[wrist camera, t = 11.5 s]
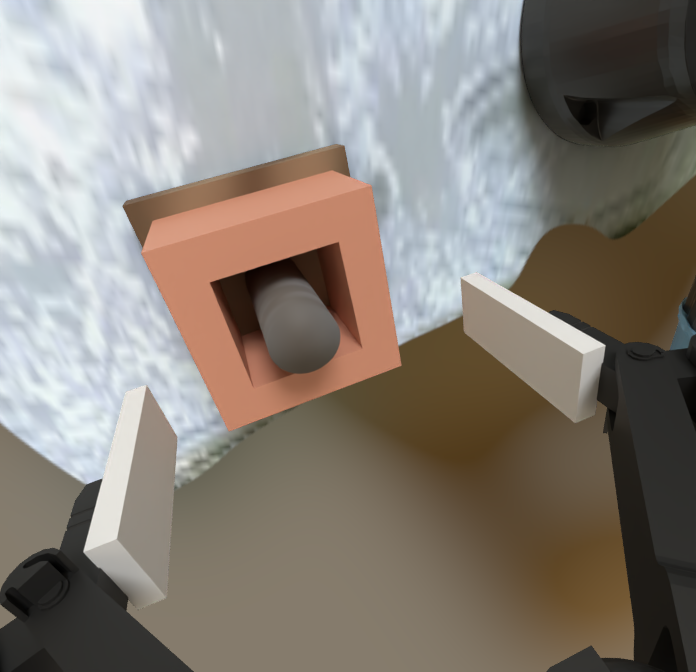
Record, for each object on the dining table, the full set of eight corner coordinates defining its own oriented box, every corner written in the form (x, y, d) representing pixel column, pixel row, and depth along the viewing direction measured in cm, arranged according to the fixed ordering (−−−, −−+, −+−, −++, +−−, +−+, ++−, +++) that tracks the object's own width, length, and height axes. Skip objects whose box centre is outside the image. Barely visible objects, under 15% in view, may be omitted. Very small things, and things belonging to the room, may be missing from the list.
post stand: (336, 144, 24) (413, 159, 16) (371, 319, 30) (440, 396, 22) (126, 200, 22) (87, 253, 14) (210, 376, 28) (218, 486, 20)
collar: (332, 170, 23) (371, 185, 18) (364, 321, 28) (401, 365, 23) (152, 220, 22) (141, 252, 16) (221, 372, 27) (228, 431, 22)
